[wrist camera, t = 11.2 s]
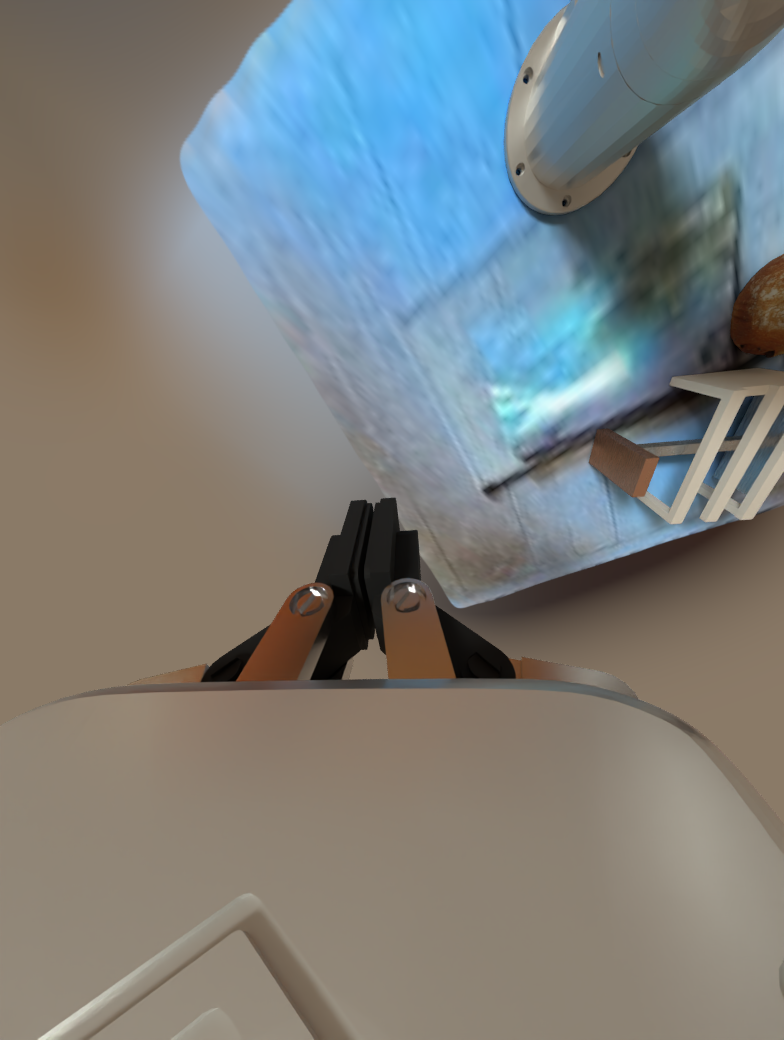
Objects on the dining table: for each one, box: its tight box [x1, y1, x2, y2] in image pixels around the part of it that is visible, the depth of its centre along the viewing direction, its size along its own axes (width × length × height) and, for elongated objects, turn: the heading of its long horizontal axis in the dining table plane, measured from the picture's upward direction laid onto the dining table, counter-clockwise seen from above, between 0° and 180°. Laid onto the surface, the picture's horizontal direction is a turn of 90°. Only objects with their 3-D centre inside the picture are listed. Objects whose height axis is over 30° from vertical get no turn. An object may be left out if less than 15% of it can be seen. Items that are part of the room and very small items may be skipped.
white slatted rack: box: [637, 368, 784, 524], centre depth 40 cm, size 17×10×9 cm, turn 6°
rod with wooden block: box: [589, 395, 784, 497], centre depth 39 cm, size 13×20×11 cm, turn 96°
